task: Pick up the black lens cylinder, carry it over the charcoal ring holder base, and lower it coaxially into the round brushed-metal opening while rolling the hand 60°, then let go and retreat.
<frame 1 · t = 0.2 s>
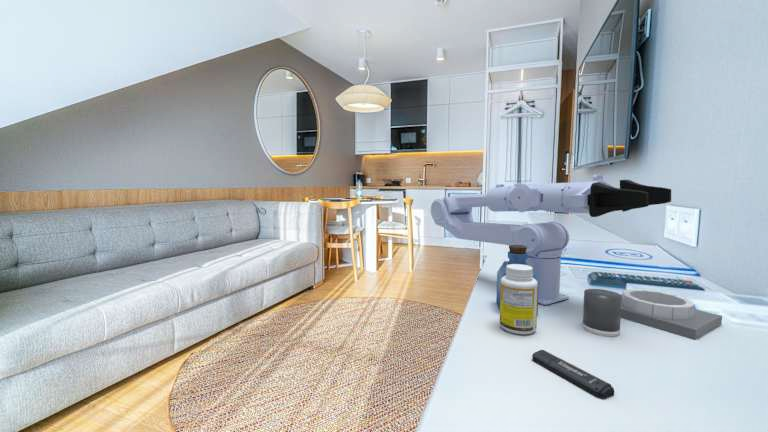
hand: (659, 197, 50), 21 cm above the table, tool horizontal, fingers open, 7 cm apart
supplement bottle: (517, 329, 53), on the table
ring holder base: (655, 316, 58), on the table
perfume bottle: (515, 310, 62), on the table
usb stick: (568, 379, 40), on the table
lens: (600, 330, 53), on the table
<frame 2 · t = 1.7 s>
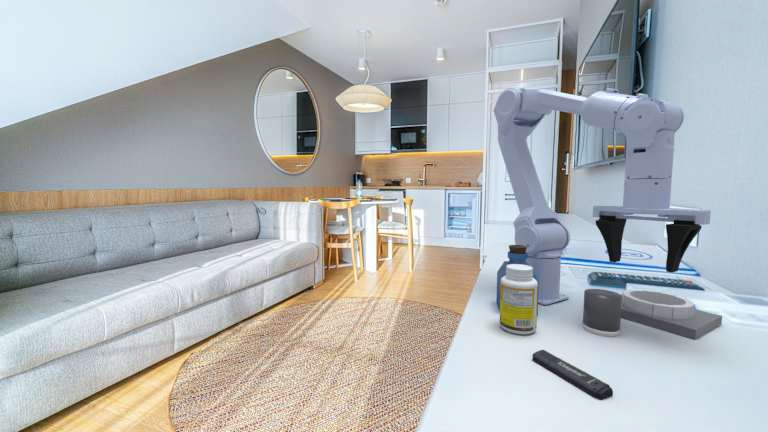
hand: (641, 266, 52), 10 cm above the table, tool pointing down, fingers open, 7 cm apart
nothing on the table moved.
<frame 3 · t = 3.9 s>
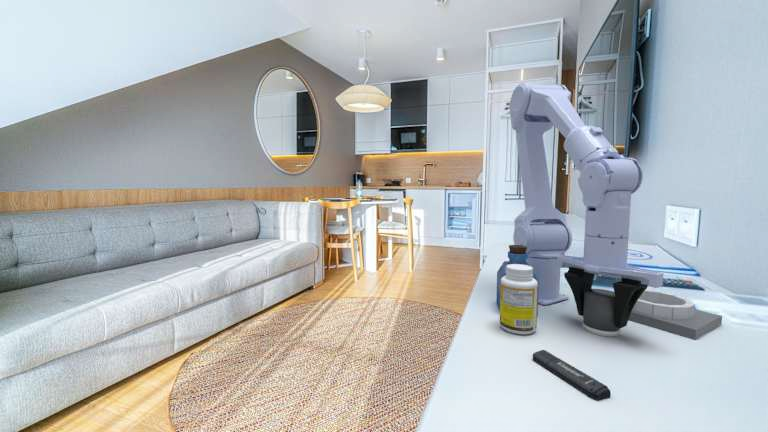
hand: (601, 320, 53), 2 cm above the table, tool pointing down, fingers closed on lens, 5 cm apart
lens: (600, 329, 53), on the table, touching gripper
everything else where it was.
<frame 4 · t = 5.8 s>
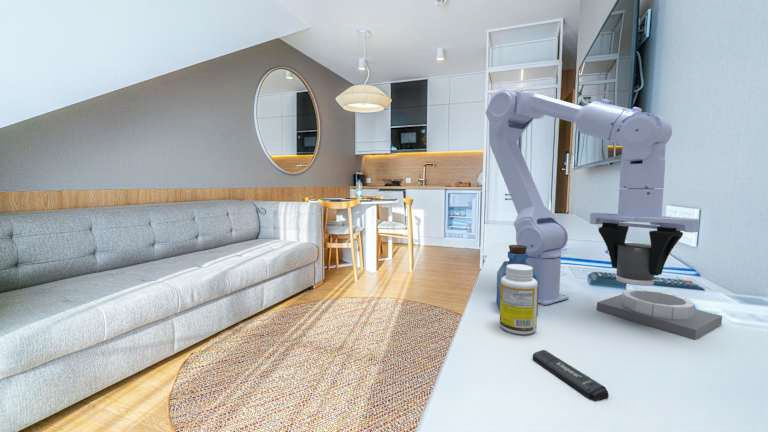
hand: (635, 270, 55), 9 cm above the table, tool pointing down, fingers closed on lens, 5 cm apart
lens: (634, 281, 55), point 7 cm above the table, touching gripper
everything else where it was.
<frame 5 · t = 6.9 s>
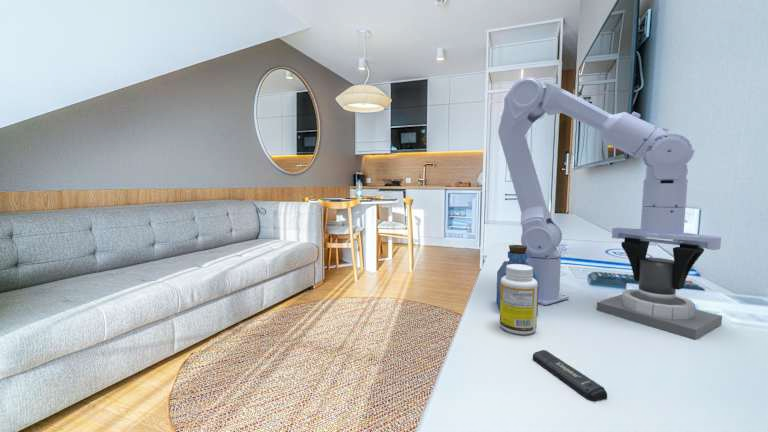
hand: (657, 284, 58), 6 cm above the table, tool pointing down, fingers closed on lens, 5 cm apart
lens: (656, 294, 58), point 4 cm above the table, touching gripper
everything else where it was.
when the fingers open (4 cm above the table, at t = 7.9 s): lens stays where it is, resting on ring holder base.
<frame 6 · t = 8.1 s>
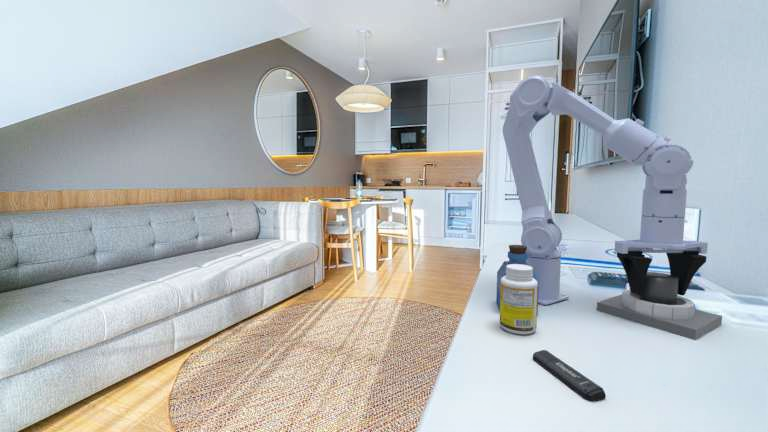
hand: (657, 293, 58), 4 cm above the table, tool pointing down, fingers open, 7 cm apart
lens: (657, 309, 58), point 2 cm above the table, touching ring holder base
everything else where it was.
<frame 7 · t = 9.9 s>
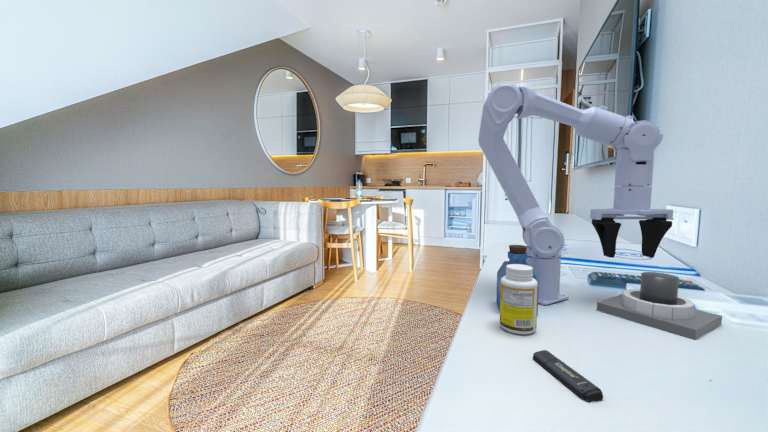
hand: (628, 256, 64), 9 cm above the table, tool pointing down, fingers open, 7 cm apart
nothing on the table moved.
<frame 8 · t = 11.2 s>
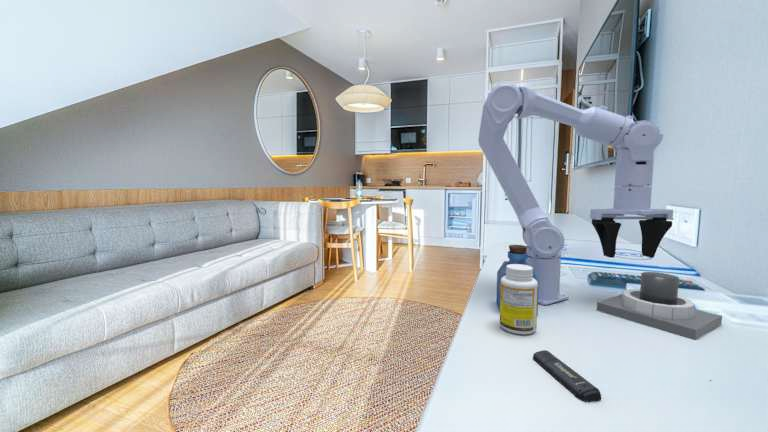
hand: (628, 256, 64), 9 cm above the table, tool pointing down, fingers open, 7 cm apart
nothing on the table moved.
at the end: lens 0.3 cm from the ring holder base (horizontally); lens point 1.5 cm above the table; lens tilted 0° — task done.
